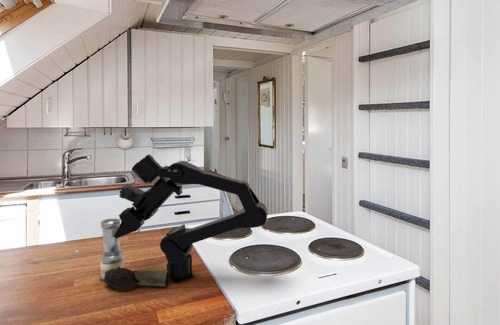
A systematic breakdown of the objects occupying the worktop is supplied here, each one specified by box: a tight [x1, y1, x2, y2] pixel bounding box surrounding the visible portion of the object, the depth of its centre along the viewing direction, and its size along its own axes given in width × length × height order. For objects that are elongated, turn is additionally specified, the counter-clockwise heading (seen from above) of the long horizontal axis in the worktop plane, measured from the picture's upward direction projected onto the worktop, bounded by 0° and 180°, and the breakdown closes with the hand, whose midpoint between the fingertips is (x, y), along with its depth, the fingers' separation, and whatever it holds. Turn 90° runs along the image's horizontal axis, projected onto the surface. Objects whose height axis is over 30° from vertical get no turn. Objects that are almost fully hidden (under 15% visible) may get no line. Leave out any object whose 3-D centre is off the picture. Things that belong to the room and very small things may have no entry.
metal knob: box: [100, 218, 124, 265], centre depth 100 cm, size 6×6×12 cm
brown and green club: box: [104, 267, 170, 292], centre depth 95 cm, size 18×7×6 cm, turn 89°
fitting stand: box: [99, 258, 125, 283], centre depth 101 cm, size 7×7×5 cm
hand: (121, 232), depth 100 cm, fingers open, 9 cm apart
